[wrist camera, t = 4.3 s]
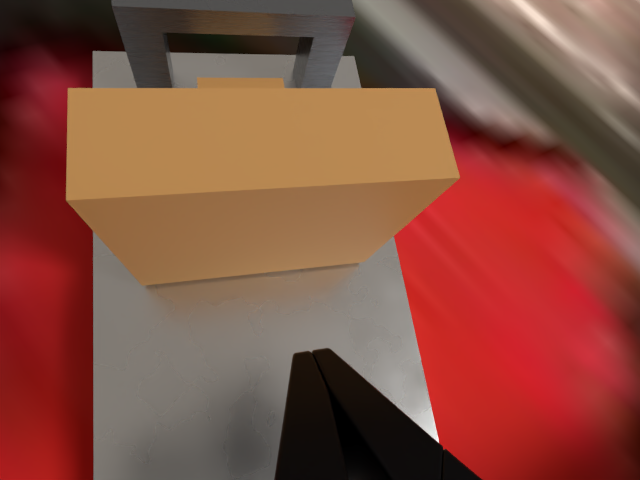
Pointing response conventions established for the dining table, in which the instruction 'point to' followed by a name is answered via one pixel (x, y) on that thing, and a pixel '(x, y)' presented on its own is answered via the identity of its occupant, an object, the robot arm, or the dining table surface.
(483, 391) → the dining table surface
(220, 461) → the baseplate
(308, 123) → the tan chunky block
